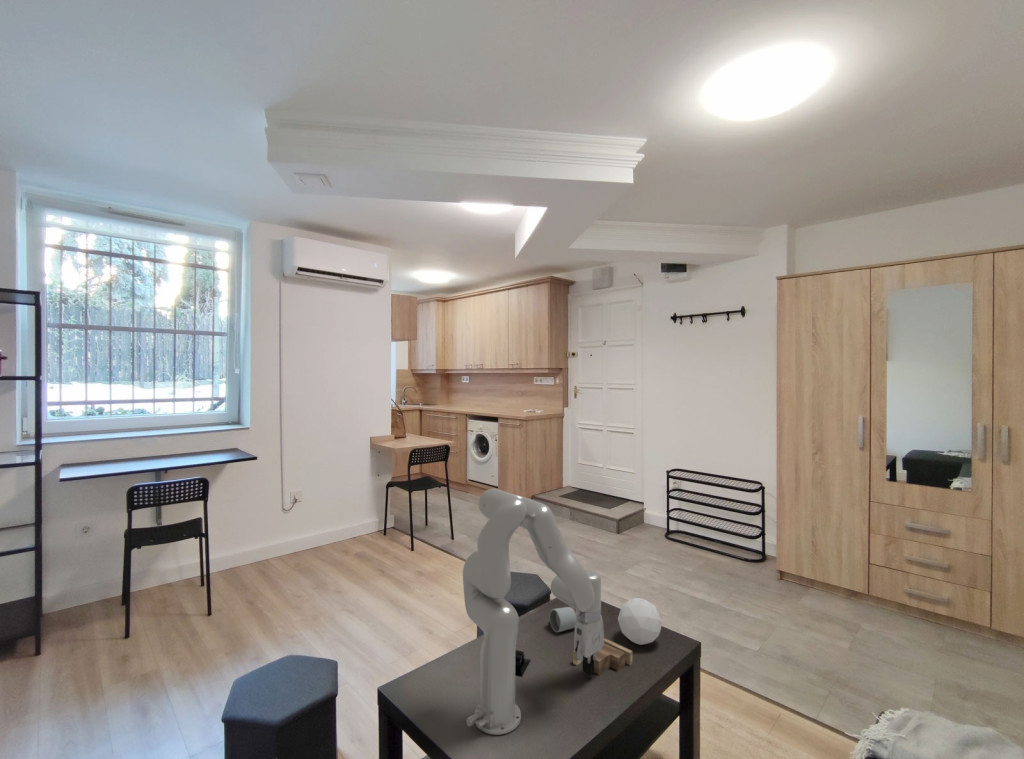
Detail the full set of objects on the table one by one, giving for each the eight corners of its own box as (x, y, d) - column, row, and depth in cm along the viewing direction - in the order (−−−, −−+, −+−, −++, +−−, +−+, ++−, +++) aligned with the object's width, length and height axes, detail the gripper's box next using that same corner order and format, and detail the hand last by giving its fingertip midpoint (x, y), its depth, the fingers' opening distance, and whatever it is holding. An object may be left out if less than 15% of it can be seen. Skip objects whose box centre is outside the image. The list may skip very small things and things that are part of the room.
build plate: (522, 682, 142) (522, 667, 142) (500, 677, 145) (500, 662, 145) (534, 659, 154) (534, 645, 154) (513, 655, 156) (513, 641, 156)
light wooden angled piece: (609, 682, 141) (609, 669, 141) (566, 660, 153) (567, 647, 153) (632, 663, 151) (632, 650, 151) (591, 643, 162) (591, 632, 162)
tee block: (607, 679, 143) (607, 666, 143) (580, 665, 150) (580, 652, 150) (625, 665, 150) (625, 652, 150) (598, 652, 157) (598, 640, 157)
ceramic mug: (578, 631, 171) (579, 609, 171) (560, 636, 167) (560, 614, 167) (562, 617, 180) (562, 597, 180) (544, 622, 176) (544, 602, 176)
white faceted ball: (651, 657, 163) (677, 632, 157) (616, 649, 158) (641, 623, 153) (637, 618, 175) (661, 594, 170) (605, 610, 171) (627, 585, 165)
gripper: (584, 626, 136) (583, 689, 136) (612, 608, 147) (612, 667, 147) (563, 617, 141) (563, 678, 141) (592, 600, 152) (592, 657, 152)
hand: (588, 672), depth 144 cm, fingers closed
